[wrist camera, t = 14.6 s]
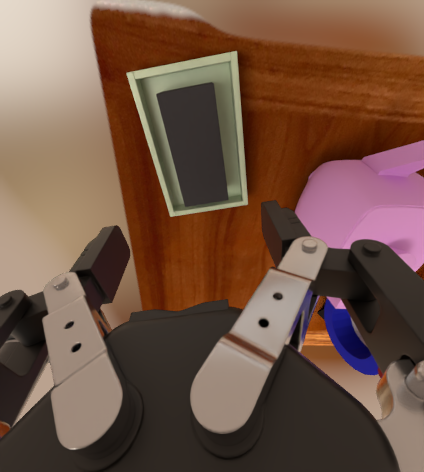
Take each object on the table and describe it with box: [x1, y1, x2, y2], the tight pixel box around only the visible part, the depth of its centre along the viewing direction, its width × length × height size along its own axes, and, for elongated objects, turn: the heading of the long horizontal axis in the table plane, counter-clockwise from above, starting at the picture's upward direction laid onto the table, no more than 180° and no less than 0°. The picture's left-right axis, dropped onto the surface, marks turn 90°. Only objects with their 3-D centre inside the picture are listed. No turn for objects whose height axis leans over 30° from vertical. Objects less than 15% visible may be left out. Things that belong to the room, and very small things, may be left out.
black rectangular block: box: [156, 82, 229, 207], centre depth 24 cm, size 11×5×4 cm, turn 9°
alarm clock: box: [318, 298, 383, 378], centre depth 35 cm, size 12×12×15 cm
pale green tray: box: [127, 51, 248, 217], centre depth 24 cm, size 10×15×2 cm, turn 9°
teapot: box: [295, 140, 424, 309], centre depth 25 cm, size 20×12×13 cm, turn 175°
